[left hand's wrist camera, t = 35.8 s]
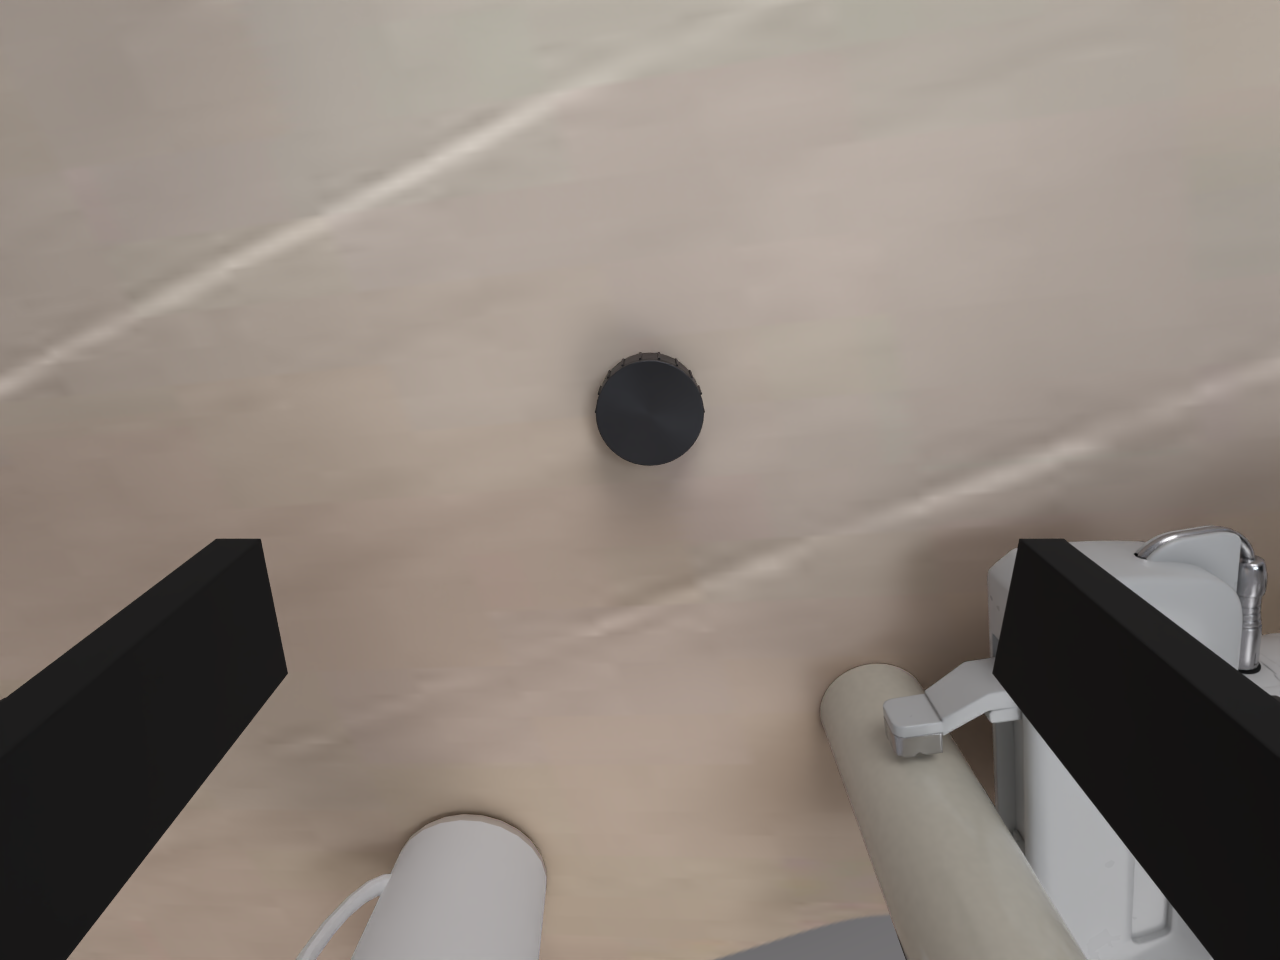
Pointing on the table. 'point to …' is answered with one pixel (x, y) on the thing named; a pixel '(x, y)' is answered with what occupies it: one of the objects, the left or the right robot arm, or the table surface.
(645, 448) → the cap
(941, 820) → the bottle
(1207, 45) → the table surface
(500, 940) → the mug
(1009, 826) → the right robot arm
